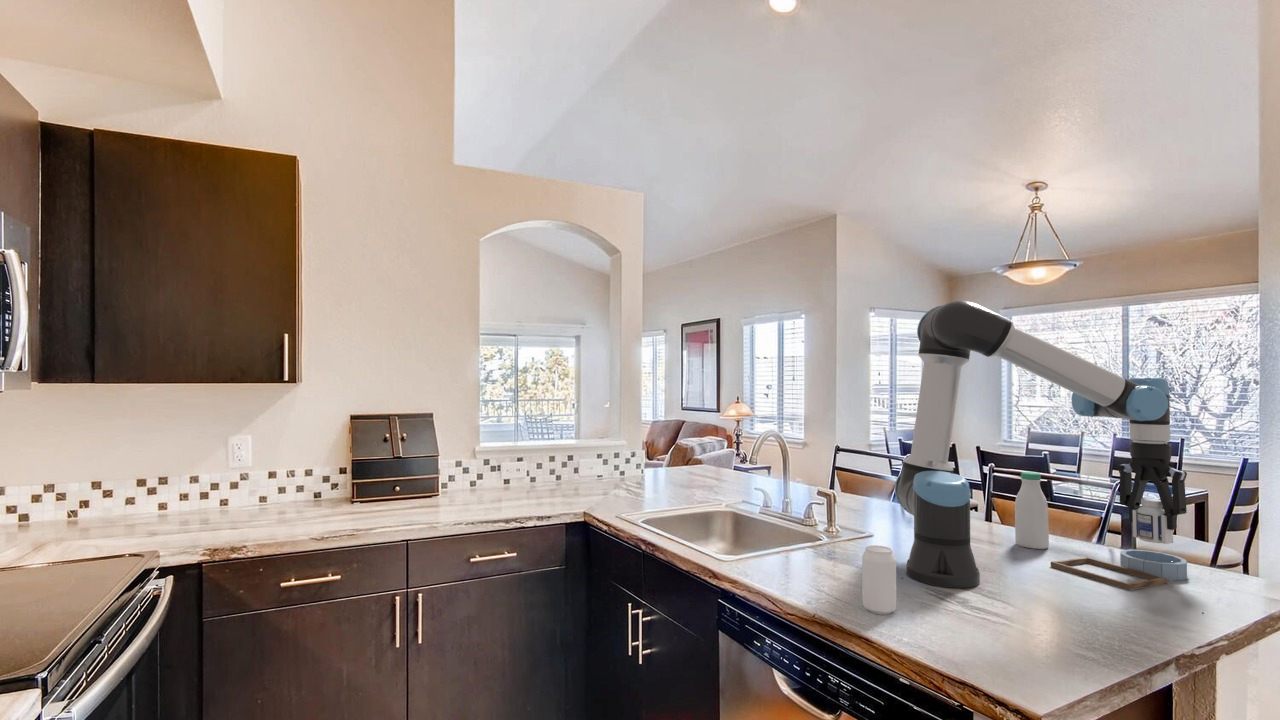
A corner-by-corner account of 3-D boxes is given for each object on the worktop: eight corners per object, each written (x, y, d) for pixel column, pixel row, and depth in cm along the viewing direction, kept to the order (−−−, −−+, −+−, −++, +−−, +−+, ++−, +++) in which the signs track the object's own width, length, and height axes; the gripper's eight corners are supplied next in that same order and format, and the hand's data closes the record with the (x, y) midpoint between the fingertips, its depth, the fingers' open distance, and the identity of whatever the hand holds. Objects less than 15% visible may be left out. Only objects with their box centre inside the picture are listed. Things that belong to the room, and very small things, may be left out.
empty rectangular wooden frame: (1129, 590, 132) (1129, 584, 132) (1050, 566, 149) (1050, 561, 149) (1167, 583, 137) (1167, 578, 137) (1086, 561, 153) (1086, 556, 153)
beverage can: (894, 618, 116) (893, 554, 116) (860, 612, 119) (859, 550, 119) (898, 608, 121) (897, 547, 122) (865, 602, 124) (864, 542, 125)
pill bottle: (1163, 539, 147) (1162, 498, 147) (1171, 544, 142) (1170, 502, 142) (1135, 537, 149) (1134, 496, 149) (1142, 542, 144) (1141, 500, 144)
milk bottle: (1054, 550, 163) (1052, 475, 164) (1022, 549, 165) (1020, 474, 165) (1041, 543, 171) (1040, 471, 171) (1010, 541, 172) (1009, 470, 173)
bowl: (1165, 582, 138) (1165, 566, 138) (1109, 567, 149) (1108, 552, 149) (1199, 576, 142) (1199, 561, 142) (1141, 562, 153) (1141, 547, 153)
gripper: (1206, 445, 139) (1209, 548, 138) (1119, 437, 156) (1121, 529, 155) (1185, 446, 136) (1188, 551, 136) (1098, 438, 154) (1101, 532, 153)
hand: (1152, 539), depth 145 cm, fingers closed on pill bottle, 5 cm apart
